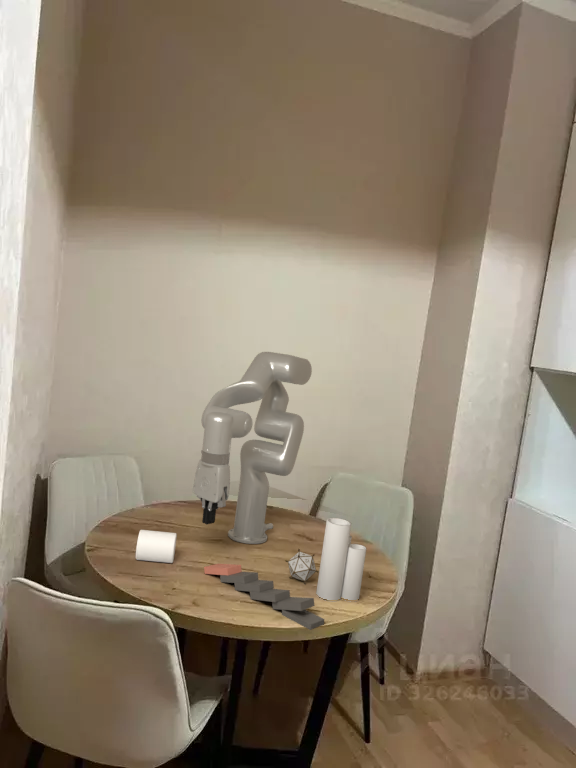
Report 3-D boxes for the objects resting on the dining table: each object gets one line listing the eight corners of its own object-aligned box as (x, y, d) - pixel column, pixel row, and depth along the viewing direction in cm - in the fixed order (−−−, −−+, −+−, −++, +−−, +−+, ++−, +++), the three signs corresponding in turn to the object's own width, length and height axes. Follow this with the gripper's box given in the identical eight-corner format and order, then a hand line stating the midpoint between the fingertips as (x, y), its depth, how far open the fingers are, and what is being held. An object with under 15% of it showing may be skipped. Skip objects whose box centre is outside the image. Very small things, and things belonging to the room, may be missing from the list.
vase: (321, 601, 164) (332, 525, 163) (312, 589, 171) (322, 516, 170) (361, 601, 168) (372, 527, 166) (351, 589, 175) (361, 518, 173)
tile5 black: (285, 596, 160) (313, 598, 154) (286, 604, 160) (314, 605, 154) (272, 601, 156) (300, 602, 150) (272, 609, 156) (301, 610, 150)
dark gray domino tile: (248, 579, 168) (273, 580, 162) (249, 586, 168) (273, 588, 162) (234, 583, 165) (259, 584, 159) (234, 590, 164) (259, 592, 158)
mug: (171, 567, 174) (175, 538, 173) (134, 564, 173) (137, 535, 172) (175, 551, 186) (178, 524, 185) (140, 548, 185) (143, 521, 184)
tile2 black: (234, 571, 172) (257, 572, 166) (234, 578, 172) (258, 579, 166) (220, 574, 168) (243, 576, 163) (220, 582, 168) (244, 583, 162)
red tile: (218, 563, 176) (241, 564, 170) (218, 570, 176) (241, 571, 170) (204, 566, 172) (227, 568, 167) (204, 573, 172) (227, 575, 166)
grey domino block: (295, 604, 158) (324, 619, 152) (295, 611, 158) (323, 626, 152) (282, 609, 154) (311, 624, 148) (281, 616, 154) (309, 632, 148)
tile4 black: (264, 587, 164) (289, 590, 158) (265, 595, 164) (290, 597, 158) (249, 591, 160) (274, 594, 154) (250, 599, 160) (275, 602, 154)
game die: (292, 590, 178) (286, 554, 183) (322, 584, 178) (315, 548, 182) (287, 585, 170) (281, 547, 175) (319, 578, 170) (311, 541, 175)
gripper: (186, 452, 176) (180, 517, 179) (224, 466, 167) (216, 534, 169) (207, 450, 182) (200, 512, 184) (244, 463, 173) (237, 528, 175)
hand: (208, 522), depth 177 cm, fingers closed
